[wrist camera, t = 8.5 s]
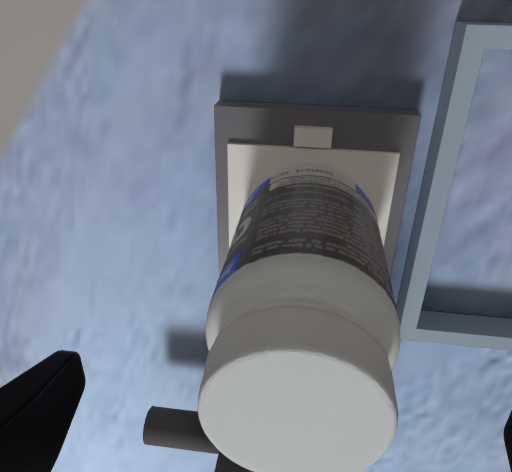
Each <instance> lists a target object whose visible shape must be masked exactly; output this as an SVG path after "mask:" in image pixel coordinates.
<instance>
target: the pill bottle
mask: <svg viewBox="0 0 512 472" xmlns="http://www.w3.org/2000/svg"><path fill="white" fill-rule="evenodd" d="M206 340H207V347H208V350H209V353H208V356H207V360H206V365H205V370H204V375H203V379H202V383H201V386H200V391H199V395H198V416H199V420H200V423H201V426H202V428H203V430H204V432H205V434H206V435H207V437H208V438H209V440H210V441H211V442H212V443H213V444H214V446H215V447H216V448H217V449H218V450H219V451H220V452H221V453H222V454H224V455H225V456H226V457H227V458H229V459H230V460H232V461H233V462H235V463H237V464H238V465H240V466H242V467H244V468H246V469H248V470H251V471H254V472H360V471H362V470H363V469H365V468H367V467H369V466H370V465H372V464H373V463H375V462H376V461H377V460H378V459H380V458H381V457H382V456H383V454H384V453H385V452H386V451H387V450H388V448H389V447H390V445H391V443H392V441H393V439H394V437H395V434H396V431H397V426H398V409H397V402H396V396H395V390H394V383H393V377H392V369H393V367H394V365H395V362H396V359H397V356H398V352H399V346H400V324H399V317H398V313H397V309H396V305H395V301H394V297H393V292H392V287H391V280H390V276H389V272H388V267H387V262H386V258H385V252H384V247H383V244H382V239H381V236H380V229H379V226H378V221H377V217H376V213H375V211H374V208H373V205H372V203H371V201H370V199H369V197H368V196H367V194H366V193H365V191H364V190H363V189H362V188H361V187H360V186H359V185H358V184H357V183H356V182H355V181H354V180H353V179H351V178H350V177H349V176H347V175H345V174H344V173H342V172H340V171H338V170H335V169H332V168H328V167H324V166H317V165H300V166H293V167H288V168H285V169H282V170H280V171H278V172H276V173H274V174H272V175H270V176H269V177H267V178H266V179H265V180H263V181H262V182H261V183H260V184H259V185H258V186H257V187H256V188H255V189H254V191H253V192H252V193H251V195H250V196H249V198H248V200H247V202H246V204H245V205H244V208H243V211H242V213H241V216H240V219H239V222H238V225H237V228H236V231H235V234H234V236H233V239H232V242H231V246H230V248H229V251H228V254H227V258H226V261H225V263H224V265H223V268H222V271H221V274H220V276H219V279H218V281H217V285H216V288H215V291H214V294H213V296H212V299H211V302H210V305H209V309H208V313H207V319H206Z"/></svg>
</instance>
